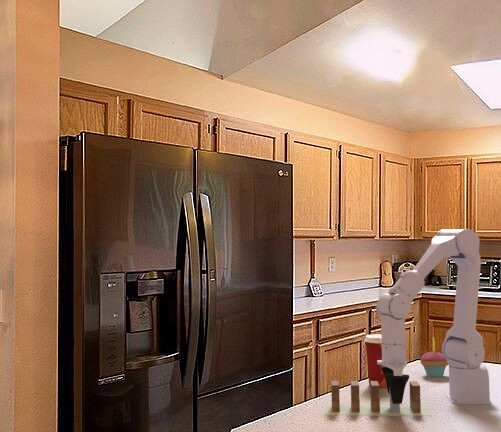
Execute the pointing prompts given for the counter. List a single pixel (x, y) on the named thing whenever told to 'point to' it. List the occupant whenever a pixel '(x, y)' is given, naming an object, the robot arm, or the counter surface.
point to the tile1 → (415, 397)
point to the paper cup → (375, 359)
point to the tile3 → (375, 396)
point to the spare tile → (394, 405)
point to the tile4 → (355, 396)
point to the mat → (366, 410)
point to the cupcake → (434, 362)
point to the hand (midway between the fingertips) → (395, 399)
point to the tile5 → (335, 396)
